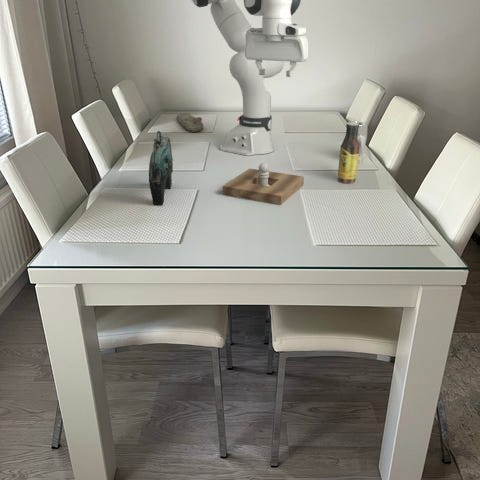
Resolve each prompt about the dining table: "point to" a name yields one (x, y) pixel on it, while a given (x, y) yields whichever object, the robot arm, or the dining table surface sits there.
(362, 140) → the beer glass
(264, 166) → the chess piece
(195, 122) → the long grey stone
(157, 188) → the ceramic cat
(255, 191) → the walnut board
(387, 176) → the dining table surface
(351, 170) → the sauce bottle
